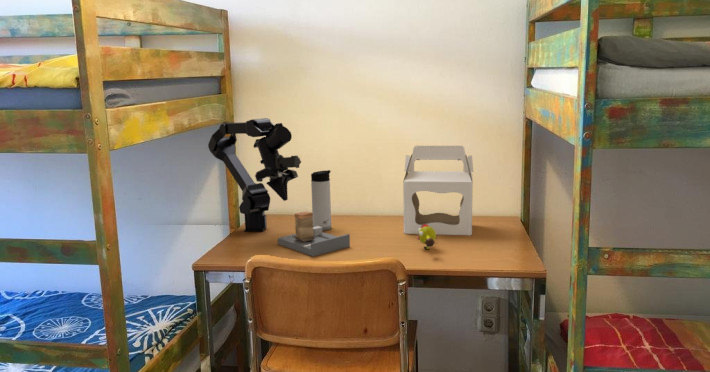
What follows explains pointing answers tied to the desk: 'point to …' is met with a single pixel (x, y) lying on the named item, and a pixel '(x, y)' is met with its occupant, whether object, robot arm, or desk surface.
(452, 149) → the gable box
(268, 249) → the desk surface
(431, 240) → the toy figure
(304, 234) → the block
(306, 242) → the console
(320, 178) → the travel mug
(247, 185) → the robot arm
